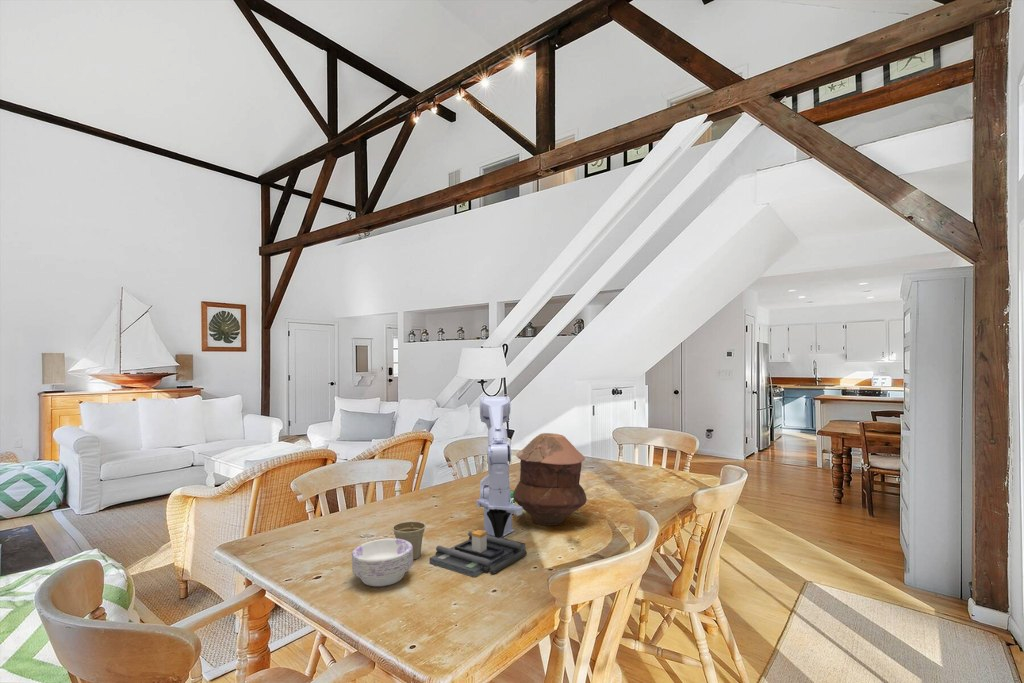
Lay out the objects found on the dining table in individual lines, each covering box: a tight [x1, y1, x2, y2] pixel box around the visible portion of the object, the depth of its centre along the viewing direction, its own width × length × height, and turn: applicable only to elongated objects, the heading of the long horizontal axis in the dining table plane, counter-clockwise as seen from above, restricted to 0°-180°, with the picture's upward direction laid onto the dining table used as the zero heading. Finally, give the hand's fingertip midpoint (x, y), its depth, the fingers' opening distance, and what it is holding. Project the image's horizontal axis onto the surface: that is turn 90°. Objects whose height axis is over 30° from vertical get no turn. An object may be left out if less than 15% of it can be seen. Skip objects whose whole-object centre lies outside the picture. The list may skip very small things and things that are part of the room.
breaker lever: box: [471, 529, 487, 553], centre depth 145 cm, size 3×3×5 cm
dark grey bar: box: [467, 531, 521, 554], centre depth 152 cm, size 2×19×3 cm, turn 55°
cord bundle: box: [434, 545, 527, 575], centre depth 144 cm, size 16×21×3 cm
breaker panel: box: [429, 534, 527, 578], centre depth 145 cm, size 24×16×2 cm, turn 145°
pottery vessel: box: [512, 432, 588, 527], centre depth 176 cm, size 26×26×30 cm
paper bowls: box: [351, 538, 414, 588], centre depth 130 cm, size 15×15×8 cm
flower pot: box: [391, 520, 427, 560], centre depth 145 cm, size 9×9×9 cm
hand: (499, 536), depth 141 cm, fingers closed
